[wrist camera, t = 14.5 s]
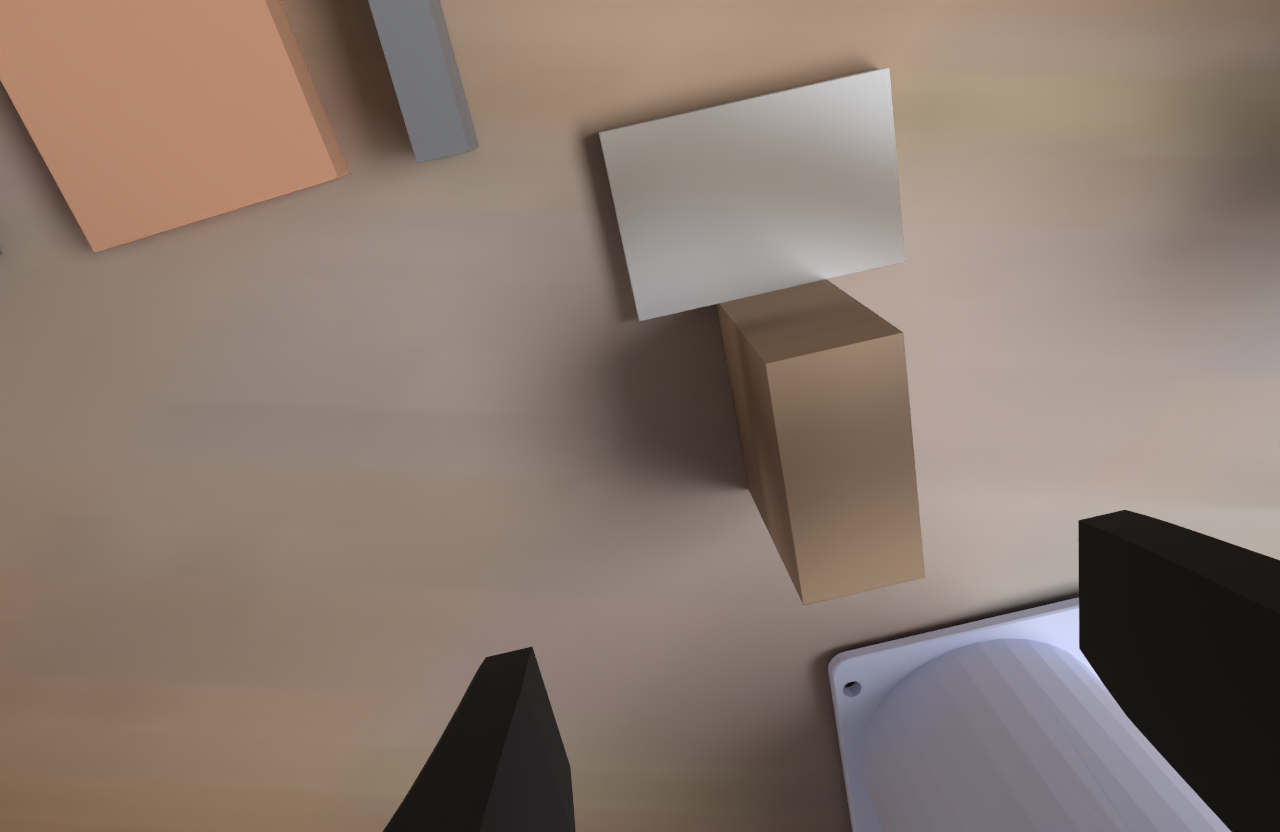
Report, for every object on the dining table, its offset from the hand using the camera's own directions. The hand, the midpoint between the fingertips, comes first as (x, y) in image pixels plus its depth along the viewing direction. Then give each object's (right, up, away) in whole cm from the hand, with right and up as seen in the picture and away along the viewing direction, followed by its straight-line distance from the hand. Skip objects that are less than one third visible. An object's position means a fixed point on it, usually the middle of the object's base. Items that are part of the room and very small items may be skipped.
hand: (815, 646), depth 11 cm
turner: (+1, +6, +8) cm, 10 cm away
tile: (-11, +10, +6) cm, 16 cm away
